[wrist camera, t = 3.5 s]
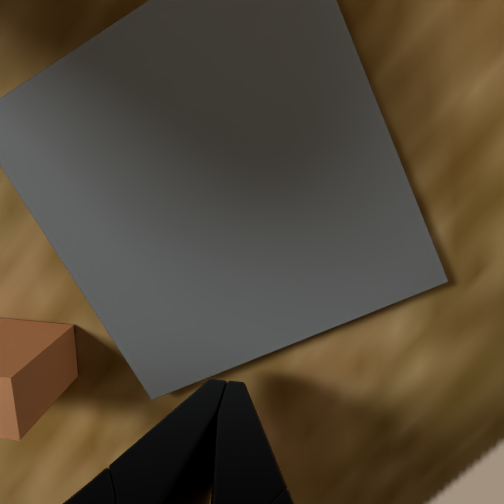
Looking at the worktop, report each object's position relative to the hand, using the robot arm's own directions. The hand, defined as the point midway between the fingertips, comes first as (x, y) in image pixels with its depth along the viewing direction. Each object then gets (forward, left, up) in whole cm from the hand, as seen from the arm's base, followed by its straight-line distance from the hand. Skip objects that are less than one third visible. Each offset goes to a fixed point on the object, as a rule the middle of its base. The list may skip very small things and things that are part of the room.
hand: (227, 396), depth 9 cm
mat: (+4, -2, -1) cm, 5 cm away
